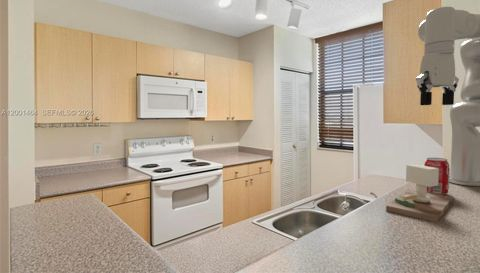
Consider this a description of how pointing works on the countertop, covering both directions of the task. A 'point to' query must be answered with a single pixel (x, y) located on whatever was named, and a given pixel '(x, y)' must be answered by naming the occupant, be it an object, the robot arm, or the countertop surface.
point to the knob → (421, 181)
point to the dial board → (421, 206)
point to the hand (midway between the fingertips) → (436, 105)
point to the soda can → (439, 175)
